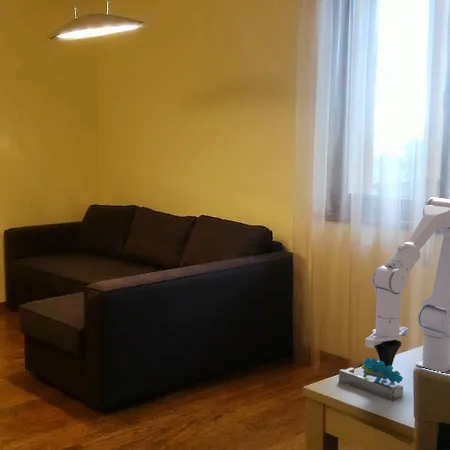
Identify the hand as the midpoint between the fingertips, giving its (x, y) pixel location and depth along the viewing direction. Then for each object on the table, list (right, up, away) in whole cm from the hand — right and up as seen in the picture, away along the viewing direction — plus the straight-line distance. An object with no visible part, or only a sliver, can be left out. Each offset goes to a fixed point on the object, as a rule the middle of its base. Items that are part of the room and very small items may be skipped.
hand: (386, 369), depth 168 cm
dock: (-4, -4, -3) cm, 7 cm away
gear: (-2, -4, -1) cm, 4 cm away
